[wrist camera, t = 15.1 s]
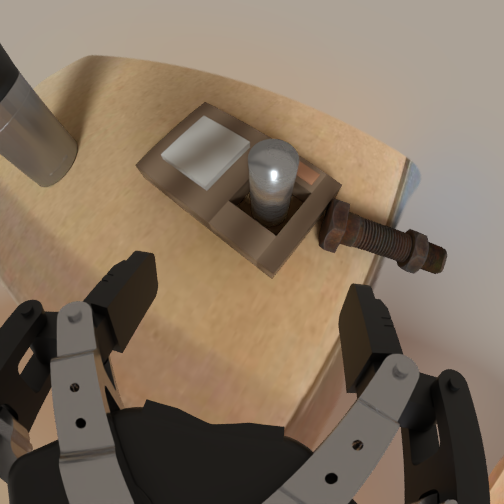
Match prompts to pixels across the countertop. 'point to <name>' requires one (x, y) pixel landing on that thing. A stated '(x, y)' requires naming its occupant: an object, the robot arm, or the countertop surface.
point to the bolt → (379, 240)
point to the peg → (271, 180)
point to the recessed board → (231, 185)
